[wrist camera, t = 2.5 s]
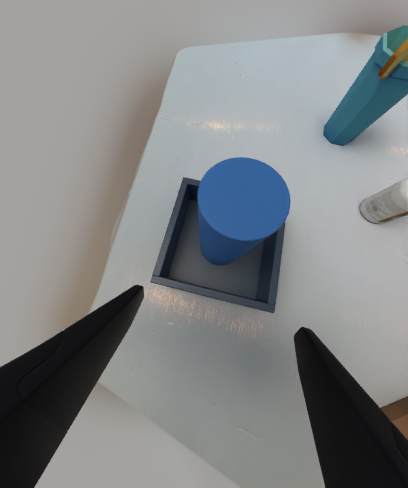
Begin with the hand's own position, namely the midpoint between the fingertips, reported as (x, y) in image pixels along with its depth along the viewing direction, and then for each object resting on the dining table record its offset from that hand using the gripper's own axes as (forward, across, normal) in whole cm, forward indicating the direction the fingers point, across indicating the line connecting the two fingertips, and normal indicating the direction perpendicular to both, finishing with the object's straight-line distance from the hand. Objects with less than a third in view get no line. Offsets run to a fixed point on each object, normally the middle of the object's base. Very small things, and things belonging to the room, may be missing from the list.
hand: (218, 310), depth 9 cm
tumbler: (+13, 0, +4) cm, 14 cm away
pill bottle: (+22, -22, -4) cm, 32 cm away
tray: (+14, 0, +4) cm, 14 cm away
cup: (+33, -17, -14) cm, 39 cm away
